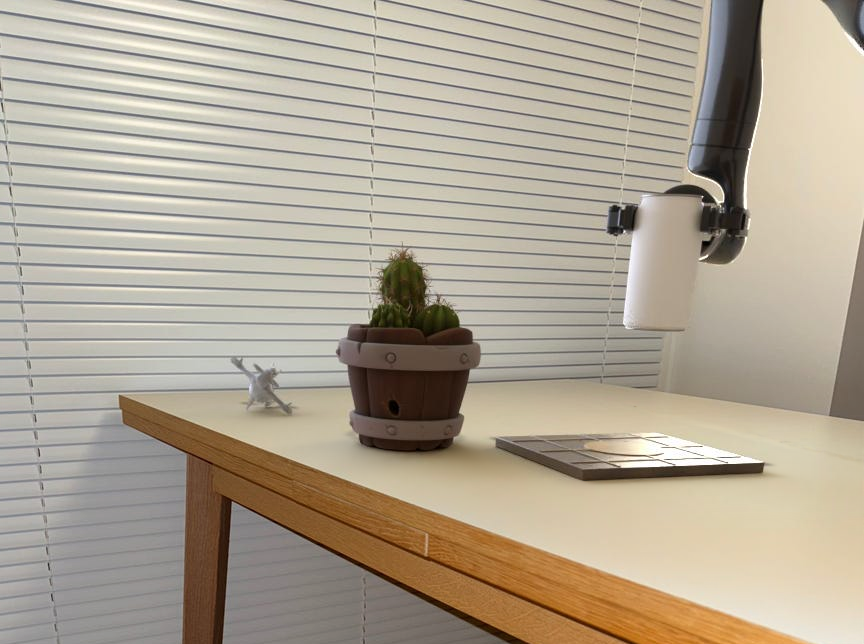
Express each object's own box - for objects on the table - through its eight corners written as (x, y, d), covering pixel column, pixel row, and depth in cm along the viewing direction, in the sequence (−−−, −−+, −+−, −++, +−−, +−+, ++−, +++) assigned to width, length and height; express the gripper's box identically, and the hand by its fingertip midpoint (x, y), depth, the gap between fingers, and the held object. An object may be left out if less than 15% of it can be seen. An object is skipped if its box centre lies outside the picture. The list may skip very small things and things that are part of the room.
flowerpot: (492, 456, 96) (508, 240, 89) (340, 455, 94) (344, 233, 87) (461, 433, 110) (473, 243, 103) (327, 431, 108) (329, 238, 100)
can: (701, 330, 95) (720, 197, 91) (669, 332, 91) (687, 192, 86) (643, 326, 99) (658, 198, 95) (609, 328, 95) (624, 194, 91)
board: (654, 441, 109) (656, 431, 108) (763, 472, 93) (765, 461, 93) (494, 446, 102) (495, 435, 102) (582, 480, 86) (583, 468, 86)
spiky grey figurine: (307, 408, 126) (308, 391, 117) (276, 441, 126) (274, 427, 117) (250, 355, 125) (246, 334, 116) (219, 388, 125) (212, 370, 116)
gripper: (623, 187, 105) (593, 173, 90) (763, 187, 100) (754, 173, 85) (615, 261, 108) (584, 259, 93) (750, 265, 103) (740, 263, 88)
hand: (666, 218), depth 89 cm, fingers closed on can, 6 cm apart
